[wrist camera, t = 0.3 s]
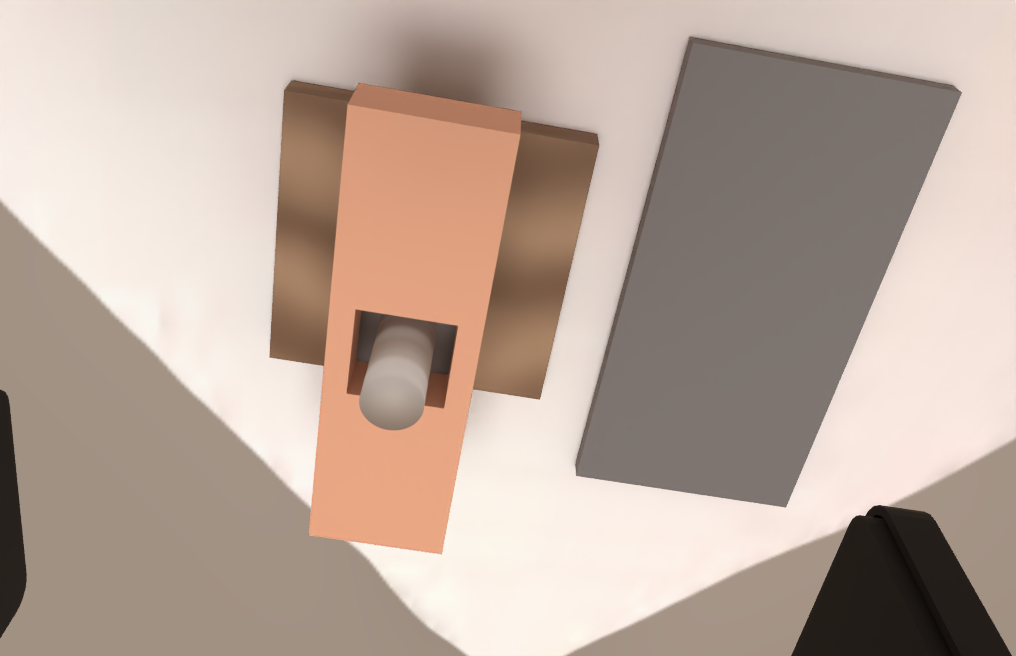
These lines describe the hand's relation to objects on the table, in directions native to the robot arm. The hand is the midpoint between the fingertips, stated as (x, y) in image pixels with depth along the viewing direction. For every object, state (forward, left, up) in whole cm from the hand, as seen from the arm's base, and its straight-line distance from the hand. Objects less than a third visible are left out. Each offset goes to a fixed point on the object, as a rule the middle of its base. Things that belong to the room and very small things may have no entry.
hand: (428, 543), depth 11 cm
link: (+13, -2, -27) cm, 30 cm away
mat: (+13, +14, -35) cm, 40 cm away
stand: (+13, -2, -35) cm, 37 cm away
